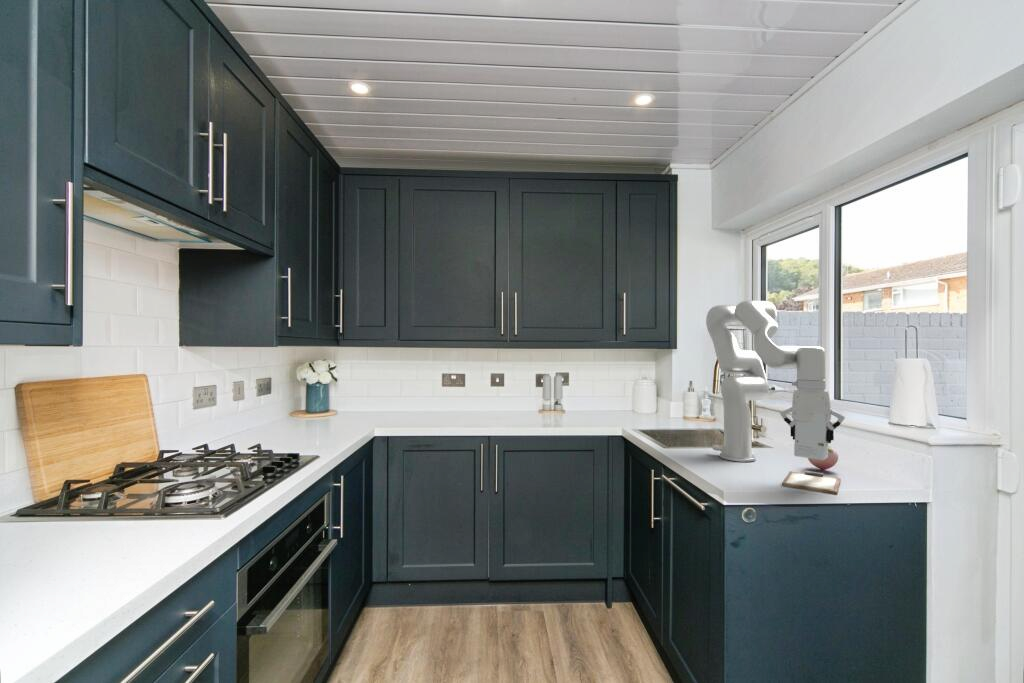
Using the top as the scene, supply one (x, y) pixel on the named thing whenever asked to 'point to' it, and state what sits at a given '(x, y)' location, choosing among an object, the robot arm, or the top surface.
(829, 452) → the decorative fruit
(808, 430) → the skincare box
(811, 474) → the clipboard
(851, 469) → the top surface
